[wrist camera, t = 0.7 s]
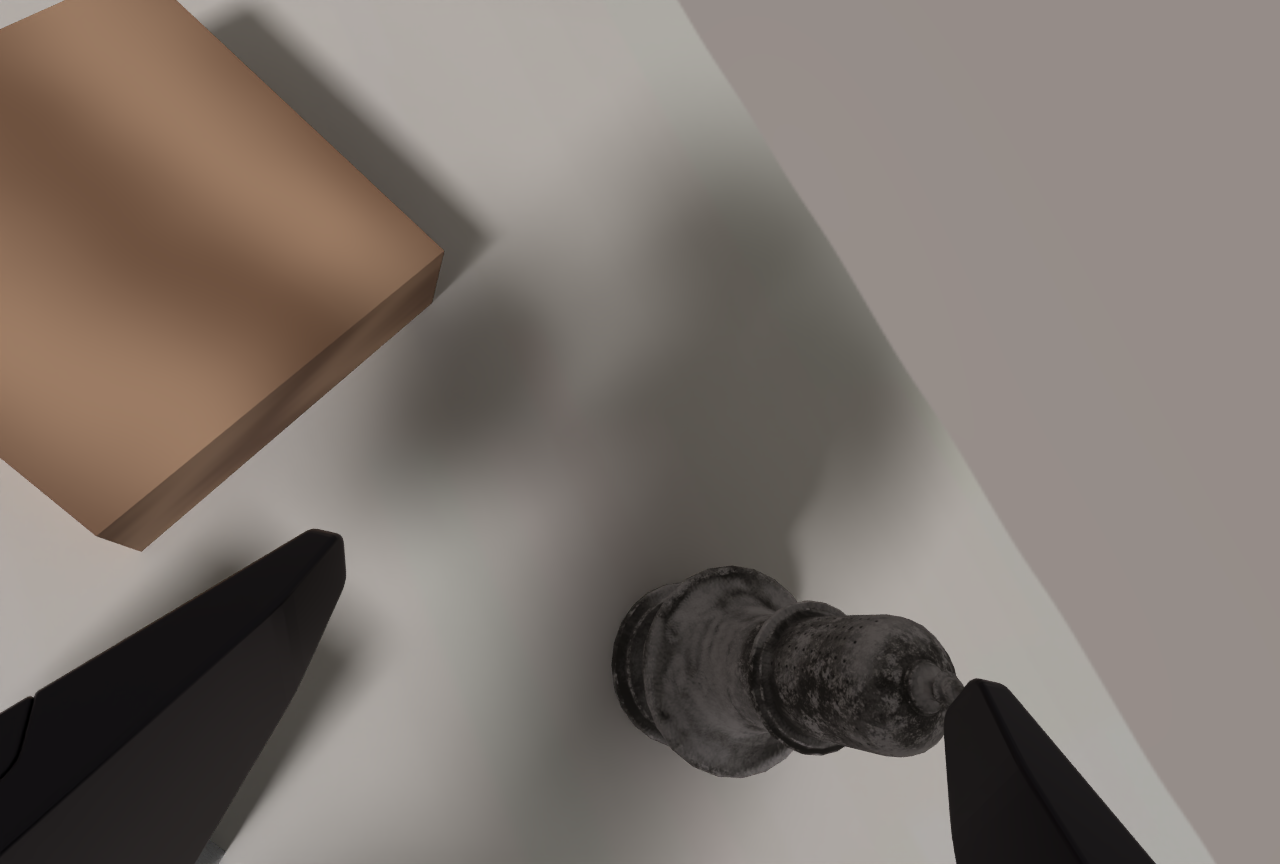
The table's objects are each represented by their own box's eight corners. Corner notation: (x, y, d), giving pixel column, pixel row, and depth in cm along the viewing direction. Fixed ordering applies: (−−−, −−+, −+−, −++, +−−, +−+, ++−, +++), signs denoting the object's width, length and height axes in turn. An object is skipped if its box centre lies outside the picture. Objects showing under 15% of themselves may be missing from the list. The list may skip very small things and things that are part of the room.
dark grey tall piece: (602, 572, 23) (816, 525, 12) (756, 574, 25) (1051, 535, 14) (602, 764, 22) (846, 900, 11) (765, 749, 24) (1106, 851, 13)
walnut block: (145, 553, 19) (96, 536, 15) (-200, 270, 18) (-339, 180, 14) (431, 307, 24) (444, 251, 20) (175, 71, 22) (140, -34, 19)
